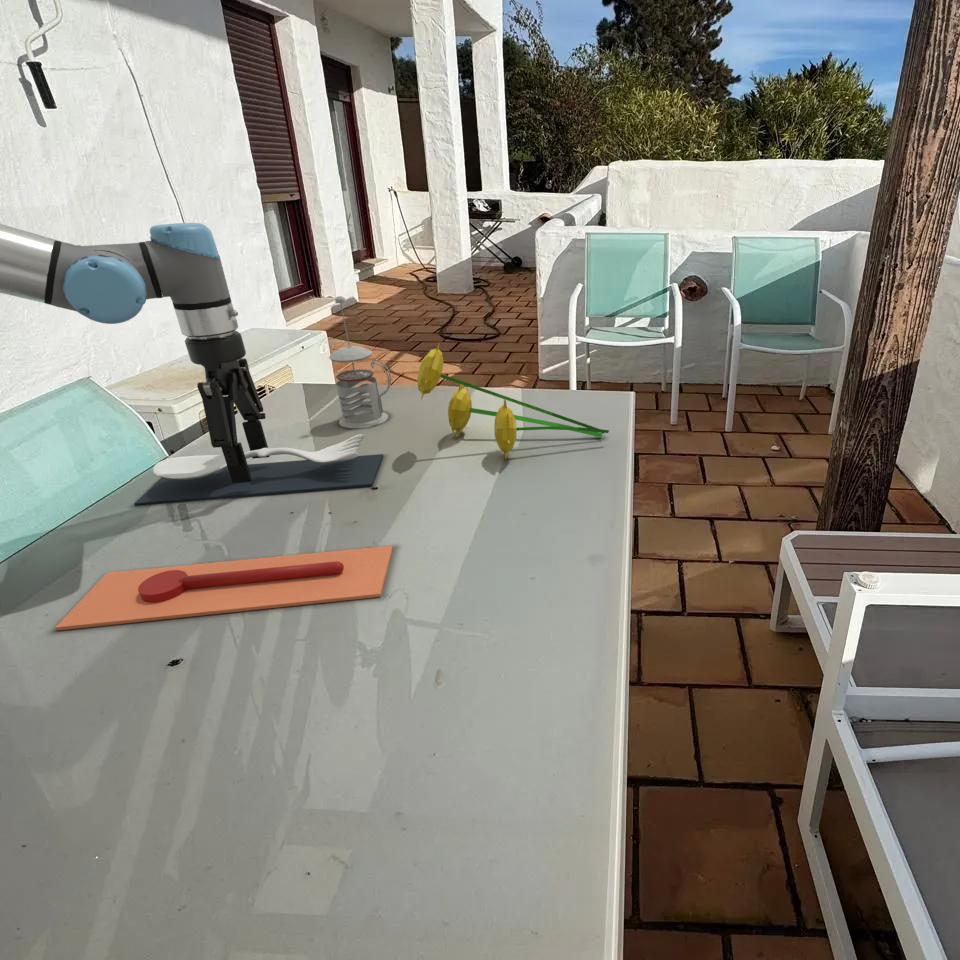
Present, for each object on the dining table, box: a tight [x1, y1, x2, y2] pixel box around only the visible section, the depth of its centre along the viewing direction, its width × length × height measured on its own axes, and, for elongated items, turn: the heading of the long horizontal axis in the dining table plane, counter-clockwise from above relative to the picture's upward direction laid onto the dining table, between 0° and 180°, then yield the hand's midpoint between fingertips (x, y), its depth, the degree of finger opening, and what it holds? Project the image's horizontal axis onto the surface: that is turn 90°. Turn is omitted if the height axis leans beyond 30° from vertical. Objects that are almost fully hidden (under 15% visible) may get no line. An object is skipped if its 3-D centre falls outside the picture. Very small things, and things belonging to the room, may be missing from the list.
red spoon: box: [138, 561, 344, 603], centre depth 79 cm, size 24×5×2 cm, turn 99°
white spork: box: [152, 433, 365, 480], centre depth 105 cm, size 9×32×4 cm, turn 101°
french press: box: [328, 295, 392, 429], centre depth 126 cm, size 10×12×25 cm
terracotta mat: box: [55, 545, 394, 631], centre depth 80 cm, size 36×11×1 cm, turn 99°
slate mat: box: [133, 453, 384, 507], centre depth 107 cm, size 36×12×1 cm, turn 99°
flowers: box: [416, 342, 610, 461], centre depth 117 cm, size 16×22×35 cm
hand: (252, 468), depth 106 cm, fingers closed on white spork, 9 cm apart
